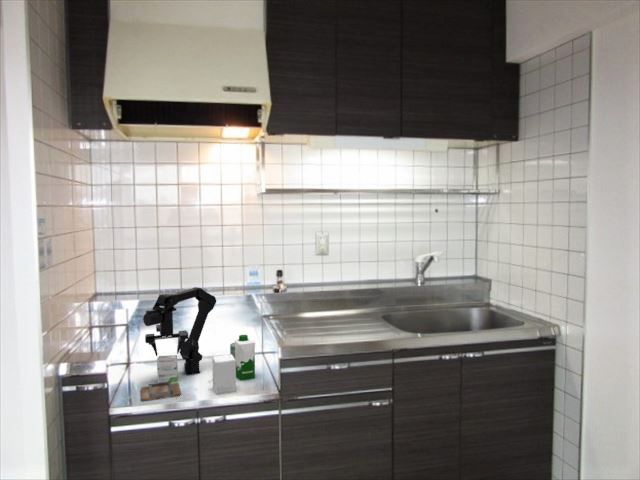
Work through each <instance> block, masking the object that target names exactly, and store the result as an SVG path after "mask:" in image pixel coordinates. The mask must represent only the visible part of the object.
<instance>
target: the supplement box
mask: <svg viewBox="0 0 640 480" xmlns="http://www.w3.org/2000/svg"><path fill="white" fill-rule="evenodd" d="M212 390H213V392H214V394H215V395H216V396H217V395H221V394H222V395H223V394H231V393H235V392H237V377H236V360H235V359H234V357H233V355H230V354H225V355H214V356H212Z"/></svg>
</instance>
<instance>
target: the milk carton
mask: <svg viewBox="0 0 640 480" xmlns="http://www.w3.org/2000/svg"><path fill="white" fill-rule="evenodd" d="M234 343H235V360H236V379H238V380H239V381H246V380H252V379H255V378H256V350H255V349H256V342H255V341H254V340H253V339H251V338H250V337H249V336H248V334H240V335H238V339H235V340H234Z"/></svg>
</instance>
